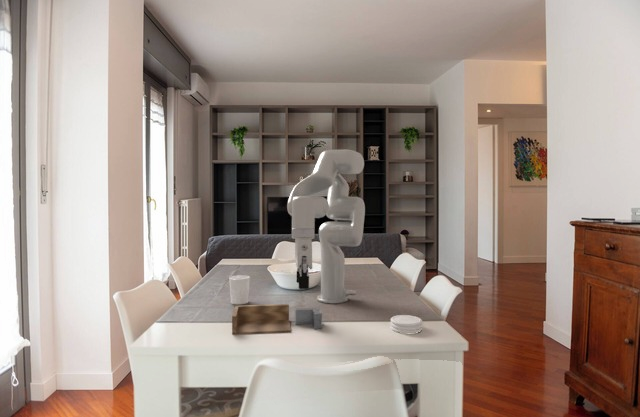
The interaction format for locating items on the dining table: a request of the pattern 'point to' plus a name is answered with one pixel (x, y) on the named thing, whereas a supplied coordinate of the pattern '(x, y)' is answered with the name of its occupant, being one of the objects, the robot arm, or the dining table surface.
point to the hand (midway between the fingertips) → (302, 285)
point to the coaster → (406, 324)
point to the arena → (260, 319)
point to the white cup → (239, 289)
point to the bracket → (309, 317)
